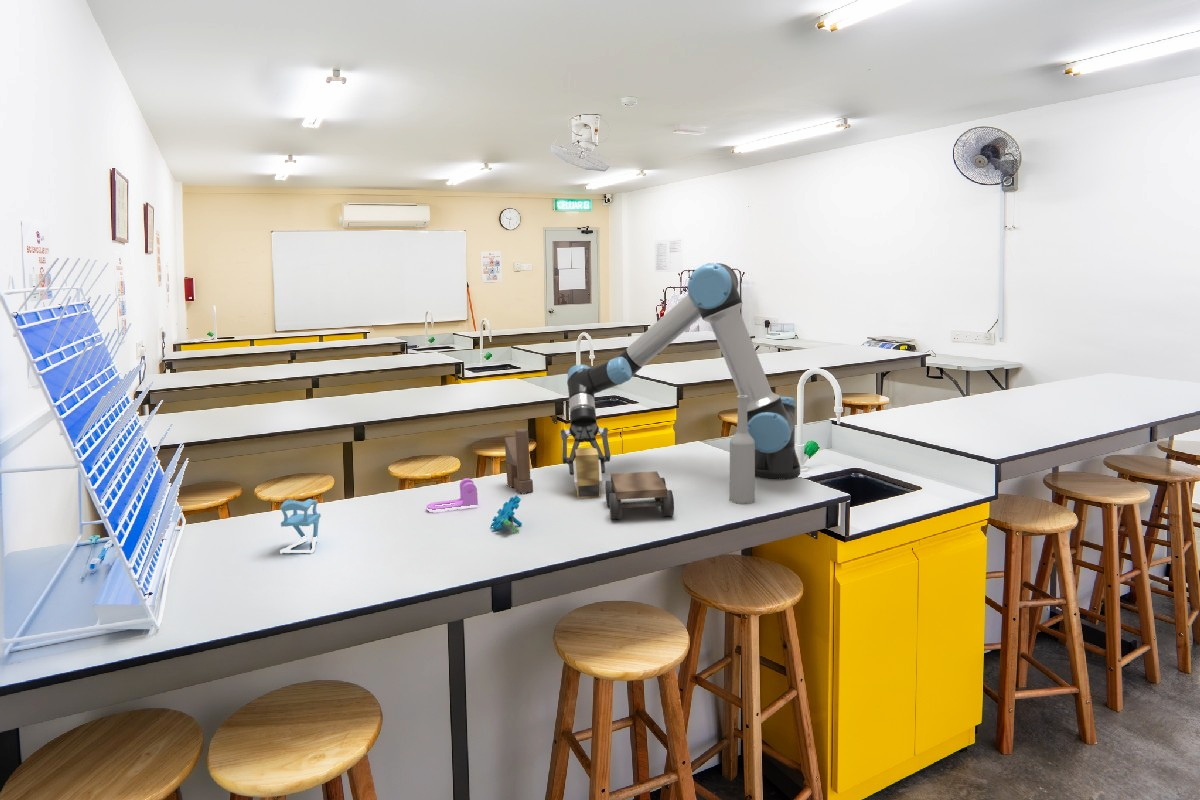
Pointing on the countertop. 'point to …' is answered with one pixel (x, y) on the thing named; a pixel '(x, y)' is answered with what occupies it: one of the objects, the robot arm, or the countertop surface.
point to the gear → (507, 515)
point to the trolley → (638, 492)
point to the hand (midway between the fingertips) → (588, 483)
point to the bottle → (742, 459)
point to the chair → (300, 515)
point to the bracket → (466, 497)
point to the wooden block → (518, 461)
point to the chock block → (587, 472)
